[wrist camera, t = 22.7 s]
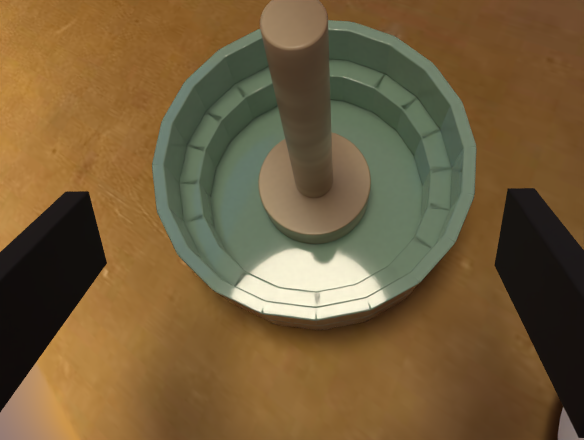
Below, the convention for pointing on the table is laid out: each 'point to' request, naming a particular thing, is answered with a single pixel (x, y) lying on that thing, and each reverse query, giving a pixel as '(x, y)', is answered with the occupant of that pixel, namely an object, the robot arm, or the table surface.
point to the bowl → (344, 121)
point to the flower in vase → (566, 428)
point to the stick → (308, 132)
